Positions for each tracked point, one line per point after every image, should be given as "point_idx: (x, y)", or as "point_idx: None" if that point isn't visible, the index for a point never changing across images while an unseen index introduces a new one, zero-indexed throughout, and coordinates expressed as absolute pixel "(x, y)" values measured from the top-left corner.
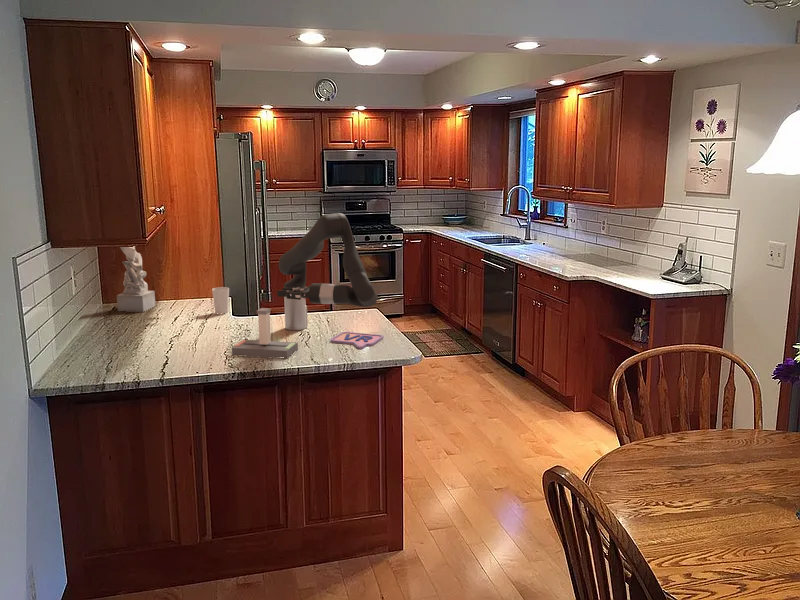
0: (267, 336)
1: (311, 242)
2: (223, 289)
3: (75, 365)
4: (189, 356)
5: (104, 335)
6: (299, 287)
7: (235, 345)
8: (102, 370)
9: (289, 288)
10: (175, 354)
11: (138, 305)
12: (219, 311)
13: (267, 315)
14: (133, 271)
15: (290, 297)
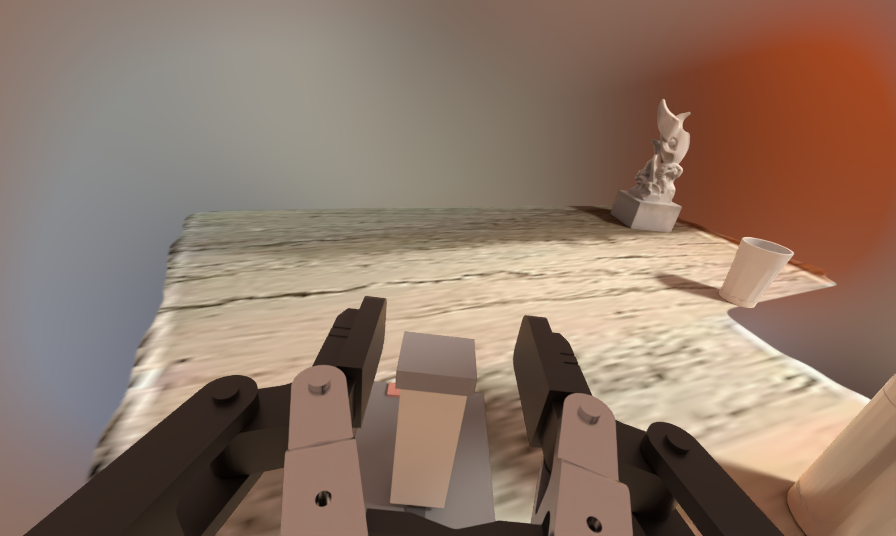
0: (404, 479)
1: None
2: (781, 252)
3: (316, 220)
4: None
5: (485, 219)
6: (561, 516)
7: (391, 385)
8: (275, 240)
9: (541, 370)
10: (380, 294)
11: (630, 215)
12: (726, 292)
13: (428, 398)
14: (654, 159)
15: (187, 498)
